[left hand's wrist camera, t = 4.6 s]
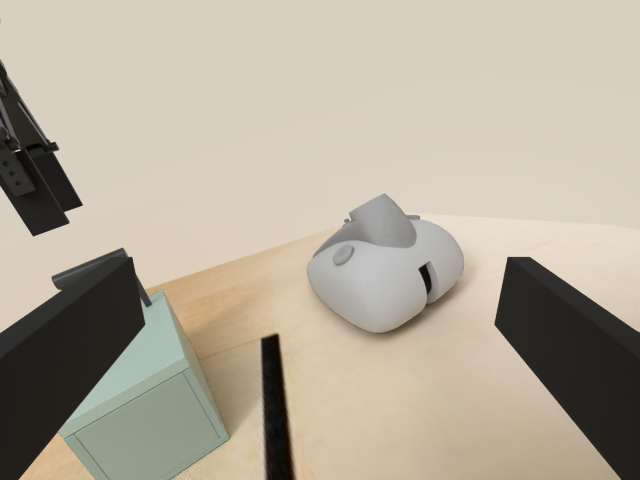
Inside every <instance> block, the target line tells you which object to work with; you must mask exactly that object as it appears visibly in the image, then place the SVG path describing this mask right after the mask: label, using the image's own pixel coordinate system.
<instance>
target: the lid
mask: <svg viewBox="0 0 640 480" xmlns="http://www.w3.org/2000/svg"><path fill="white" fill-rule="evenodd" d="M110 257H128V255H127V253H126V251H125V250H124V248H120V249H118V250H115V251H113V252H110V253H108V254H105V255H103V256H100V257H98V258H96V259H93V260H91V261H88V262H86V263H83V264H81V265H78V266H76V267H73V268H71V269H69V270H66V271H64V272H61V273H59V274H56V275H54V276H52V281H53V283H54V285H55V286H56V288H57V289H59V290H63V289H65V288H66V287H68V286H69V285H71V284H72V283H74V282H75V281H76V280H78V279H79V278H81V277H82V276H84V275H85V274H86V273H88V272H89V271H91V270H92V269H94V268H95V267H97V266H98V265H99V264H101V263H102V262H104V261H105V260H107V259H108V258H110ZM136 279H137V284H138V289H139V294H140V297H141V304H142V309H143V314H144V319H145V324H146V325H145V326H144V327H143V328H142V330H141V331H140V332H139V333H138V335H137V336H136V337H135V338H134V339H133V341H132V342H131V343H130V344H129V346H128V347H127V348H126V349H125V350H124V352H123V353H122V354H121V355H120V357H119V358H118V359H117V360H116V361H115V363H114V364H113V365H112V366H111V367H110V369H109V370H108V371H107V372H106V374H105V375H104V376H103V377H102V378H101V380H100V381H99V382H98V383H97V385H96V386H95V387H94V388H93V389H92V391H91V392H90V393H89V394H88V396H87V397H86V398H85V399H84V400H83V402H82V403H81V404H80V405H79V407H78V408H77V409H76V410H75V411H74V413H73V414H72V415H71V416H70V418H69V419H68V420H67V421H66V422H65V424H64V425H63V426H62V427H61V429H60V430H59V431H58V433H59V434H60V436H61V437H62V438H63V439H64V438H66V437H68V436H69V435H71V434H73V433H75V432H76V431H78V430H80V429H82V428H83V427H85V426H87V425H89V424H90V423H92V422H94V421H96V420H97V419H99V418H101V417H103V416H104V415H106V414H108V413H110V412H111V411H113V410H115V409H117V408H119V407H120V406H122V405H124V404H126V403H127V402H129V401H131V400H133V399H134V398H136V397H138V396H140V395H141V394H143V393H145V392H147V391H148V390H150V389H152V388H154V387H155V386H157V385H159V384H161V383H162V382H164V381H166V380H168V379H169V378H171V377H173V376H175V375H176V374H178V373H180V372H182V371H183V370H185V369H187V368H189V367H190V364H189V361H188V358H187V355H186V352H185V349H184V347H183V344H182V341H181V338H180V335H179V332H178V329H177V326H176V323H175V320H174V318H173V315H172V312H171V309H170V306H169V303H168V300H167V297H166V295H165V293H164V291H163V290H160V291H158V292H156V293H154V294H151V295H149V296H148V295H147V293H146V292H145V290H144V288H143V286H142V284H141V282H140V281H139V279H138V277H137V275H136Z"/></svg>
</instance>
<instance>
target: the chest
mask: <svg viewBox="0 0 640 480" xmlns="http://www.w3.org/2000/svg"><path fill="white" fill-rule="evenodd" d="M167 300H168V299H167ZM168 303H169V301H168ZM169 306H170V309H171V312H172V315H173V318H174V320H175V323H176V326H177V329H178V332H179V335H180V338H181V341H182V344H183V347H184V349H185V352H186V355H187V358H188V361H189V364H190V367H189V368H187V369H185V370H183V371H182V372H180V373H178V374H176V375H175V376H173V377H171V378H169V379H168V380H166V381H164V382H162V383H161V384H159V385H157V386H155V387H154V388H152V389H150V390H148V391H147V392H145V393H143V394H141V395H140V396H138V397H136V398H134V399H133V400H131V401H129V402H127V403H126V404H124V405H122V406H120V407H119V408H117V409H115V410H113V411H111V412H110V413H108V414H106V415H104V416H103V417H101V418H99V419H97V420H96V421H94V422H92V423H90V424H89V425H87V426H85V427H83V428H82V429H80V430H78V431H76V432H75V433H73V434H71V435H69V436H68V437H66V438H64V441H65V442H66V443H67V445H68V446H69V447H70V448H71V450H72V451H73V452H74V453H75V455H76V456H77V457H78V458H79V460H80V461H81V462H82V463H83V465H84V466H85V467H86V468H87V470H88V471H89V472H90V473H91V475H92V476H93V477H94V478H95V480H170V479H171V478H173V477H174V476H176V475H177V474H179V473H180V472H182V471H183V470H184V469H186V468H187V467H189V466H190V465H192V464H193V463H195V462H196V461H198V460H199V459H201V458H202V457H204V456H205V455H207V454H208V453H209V452H211V451H212V450H214V449H215V448H217V447H218V446H220V445H221V444H223V443H224V442H226V441H227V440H229V439H230V438H229V435H228V433H227V430H226V428H225V425H224V423H223V420H222V418H221V415H220V413H219V410H218V408H217V405H216V403H215V400H214V398H213V395H212V392H211V390H210V387H209V385H208V382H207V380H206V377H205V375H204V372H203V370H202V367H201V365H200V362H199V360H198V357H197V355H196V352H195V350H194V349H193V347H192V345H191V343H190V341H189V339H188V337H187V335H186V333H185V332H184V330H183V328H182V326H181V324H180V322H179V320H178V318H177V316H176V315H175V313H174V311H173V309H172V307H171V305H170V303H169Z"/></svg>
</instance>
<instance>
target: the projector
mask: <svg viewBox="0 0 640 480" xmlns="http://www.w3.org/2000/svg"><path fill="white" fill-rule="evenodd" d="M349 215H350V217H351V220H352V221H349V219H345V220H344V222H345V225H343V228H341V229H340V230H339V231H337V232H336V233H335V234H334V235H332V236H331V237H330V238H329V239H328V240H327V241H326V242H325V243H324V244H323V245H322V246H321V247H320V248H319V249H318V250H317V251H316V252H315V254H314V255H313V259H312V260H311V261H310V262H309V264H308V266H307V275H308V280H309V282H310V285H311V287H312V288H313V290H314V291H315V293H316V294H317V296H318V297H319V298H320V299H321V300H322V301H323V302H324V303H325V304H326V305H327V306H328V307H329V308H331V309H332V310H333V311H334V312H335V313H337V314H338V315H340V316H341V317H342V318H344V319H345V320H347V321H348V322H350V323H352V324H353V325H355V326H357V327H359V328H361V329H363V330H366V331H369V332H373V333H382V332H387V331H390V330H393V329H395V328H397V327H399V326H400V325H402V324H404V323H405V322H407V321H408V320H410V319H411V318H413V317H414V316H415V315H417V314H418V313H420V312H421V311H422V310H423V309H424V307H425V305H426V303H427V304H430V303H433V302H434V301H436V300H437V299H438V298H440V297H441V296H442V295H443V294H444V293H446V292H447V291H448V290H449V289H450V288H451V287H452V286H453V285H454V284H455V283H456V282H457V281H458V280H459V278H460V277H461V275H462V272H463V269H464V258H463V254H462V251H461V249H460V247H459V245H458V243H457V242H456V240H455V239H454V238H453V237H452V236H451V235H450V234H449V233H448V232H447V231H446V230H444V229H443V228H442V227H440V226H438V225H436V224H434V223H431V222H428V221H424V220H419V219H420V216H418V215H405V214H404V212H403V211H402V210H401V209H400V207H399V206H398V205H397V204H396V203H395V202H394V201H393V200H392V199H391V198H390V197H388V196H387V195H386V194H382V195H380V196H378V197H376V198H374V199H372V200H370V201H368V202H367V203H365V204H363V205H361V206H360V207H358V208H356V209H354V210H353V211H351V212H350V213H349Z"/></svg>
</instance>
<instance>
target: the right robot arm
mask: <svg viewBox="0 0 640 480" xmlns="http://www.w3.org/2000/svg"><path fill="white" fill-rule="evenodd" d="M19 149H20V150H21V151H18V152H15V150H19ZM57 150H59V148H58V146H57V144H56V142H53V143H51V142H50V141H49V140H48V139H47V138H46V136H45V135H44V133H43V131H42V130H41V128H40V127H39V125H38V124H37V122H36V120H35V119H34V117H33V116H32V114H31V113H30V111H29V110H28V108H27V106H26V105H25V103H24V102H23V100H22V99H21V97H20V95H19V93H18V91H17V89H16V87H15V86H14V84H13V83H12V82H11V80H10V79H9V77H8V76H7V72H6V70H5V67H4V64H3V63H2V61H1V60H0V186H1V187H2V189H3V190H4V192H5V194H6V195H7V197H8V198H9V200H10V201H11V203H12V205H13V206H14V208H15V209H16V211H17V212H18V214H19V215H20V217H21V218H22V220H23V222H24V223H25V225H26V226H27V228H28V229H29V231H30V232H31V234H32V235H33V236H36V235H39V234H41V233H44V232H47V231H50V230H52V229H55V228H58V227H61V226H63V225H66V224H69V220H68V218H67V217H66V215H65V213H64V212H66V211H68V210H71V209H74V208H77V207H80V206H82V205H83V204H82V202H81V200H80V199H79V197H78V195H77V193H76V192H75V190H74V188H73V186H72V185H71V183H70V181H69V180H68V178H67V176H66V174H65V172H64V171H63V169H62V167H61V165H60V163H59V162H58V160H57V158H56V156H55V155H54V153H53V152H54V151H57Z"/></svg>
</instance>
